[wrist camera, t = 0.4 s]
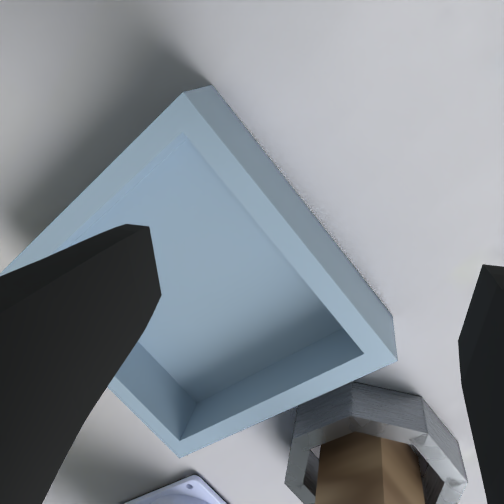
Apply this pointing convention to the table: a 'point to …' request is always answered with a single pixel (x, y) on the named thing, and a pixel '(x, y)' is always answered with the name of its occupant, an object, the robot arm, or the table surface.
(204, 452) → the table surface
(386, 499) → the peg
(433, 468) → the collar
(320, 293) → the bin
